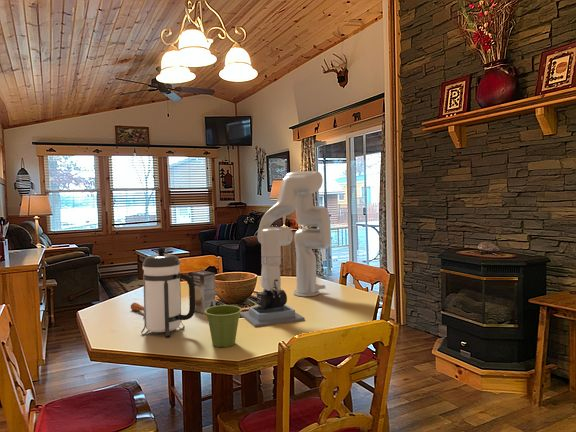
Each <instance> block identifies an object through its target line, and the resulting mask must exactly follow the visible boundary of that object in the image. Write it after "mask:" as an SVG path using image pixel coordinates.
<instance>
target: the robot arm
mask: <svg viewBox="0 0 576 432" xmlns="http://www.w3.org/2000/svg"><path fill="white" fill-rule="evenodd" d="M322 186H323V176H322V174H321V172H319V171H317V170H312V171H311V170H310V171H308V170H307V171H303V170H302V171H301V170H300V171H299V170H298V171H291V172H287V173H286V174H285V176H284V177H283V178H282V180H281V184H280V187H279V191H278V194H277V195H278V196H277V198H276V203H275V204H274V205H273V206H271V207H270V208H269V209H268V210H267V211H266V212H265V213H264V214H263V215H262V217H261V220H260V222H259V225H258V226H259V227H258V231H257V241H258V243H259V244H260V245H261V246H260V247H261V250H260V252H261V257H260V258H261V259H260V260H261V274H260V275H261V276H260V287H261V288H262V289H263V292H270V291H271V292H272V297H271V298H272V308H277V307H280V291H281V290H282V288H281V284H282V283H281V282H282V281H281V266H280V265H281V264H282V263H281V261H282V260H281V258H282V257H281V255H282V253H281V250H282V249H281V247H282V246H283V247H284V246H289V245H290V244H291V243H292V242H293V240H294V245H295V247H294V248H295V253H296V254H295V259H296V260H295V262H296V267H295V268H296V270H295V271H296V289H294V290H293V292H292V293H293V295H294V296H297V297H307V298H308V297H315V296H318V295H320V290H325V289H326V284H318V283H317V256H316V255H315V253H314V251H313V250H326V249H327V250H328V248H329V247H330V246H331V220H330V212H329V209H328V208H327V207H325V206H319V205H317V206H315V205H314V196H313V194H315V193H316V192H317V191H319V190H320V189H321V187H322ZM294 212H295V219H296V224H297V225H299V226H300V227H318V228H300V229H298V230H296V231H295V233H293V231H292V229H290V228H289V227H286V226H271V225H272V224H273V223H274V222H275V221H278V220H279V219H280V218H284V217H287V216H289V215H290V214H292V213H294ZM274 292H275V293H274Z"/></svg>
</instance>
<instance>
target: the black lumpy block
mask: <svg viewBox="0 0 576 432" xmlns="http://www.w3.org/2000/svg"><path fill="white" fill-rule="evenodd" d="M274 293H275V292H274ZM271 297H272V292H271V291H270V292H263V291H259V292H257V294H256V298H258V299H260V300H256V304H257V306H258V309H261V310H267V309H272V298H271ZM287 302H288V296H287V293H286V291H285V290H284V289H281V291H280V307H283V306H284V305H287Z"/></svg>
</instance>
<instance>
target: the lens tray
mask: <svg viewBox="0 0 576 432" xmlns="http://www.w3.org/2000/svg"><path fill="white" fill-rule="evenodd" d="M258 306H259V305H257V306H250V307H248V311H243V312H242V311H241V312H240V316H241V317H242V318H244V319H245V320H246V321H247V322H248V323H249V324H251V325H252V326H253V327H254V328H257V327H260V328H261V327H265V326H267V327H268V326H274V325H281V324H288V323H294V322H295V323H296V322H297V323H298V322H303V321H306V320H305V319H306V318H305V317H304V316H302V315H301V314H299V313H298V312H296V310H295V308H293V307H291V306H289V305H287V304H285V305H284V306H283V307H277V308H272V309H267V310H261V309H258Z"/></svg>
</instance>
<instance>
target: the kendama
mask: <svg viewBox="0 0 576 432" xmlns="http://www.w3.org/2000/svg"><path fill="white" fill-rule="evenodd" d="M130 309H131V310H132V311H135V312H136V311H142V312H144V305H141V304H139V303H138V302H132V304H130Z"/></svg>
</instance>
